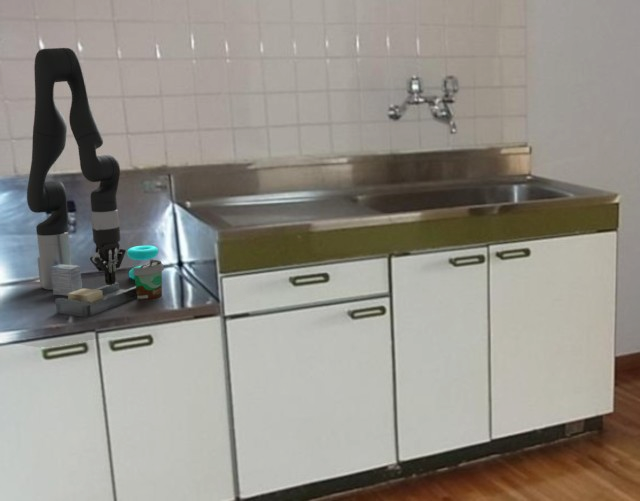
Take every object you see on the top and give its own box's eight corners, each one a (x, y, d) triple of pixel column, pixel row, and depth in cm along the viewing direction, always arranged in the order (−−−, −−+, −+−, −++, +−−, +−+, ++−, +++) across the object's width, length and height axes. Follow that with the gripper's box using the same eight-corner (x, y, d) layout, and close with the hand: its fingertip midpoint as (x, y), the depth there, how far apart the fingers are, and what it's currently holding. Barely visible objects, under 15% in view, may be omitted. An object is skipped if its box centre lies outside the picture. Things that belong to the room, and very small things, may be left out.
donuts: (152, 243, 247) (161, 248, 238) (155, 272, 249) (164, 278, 240) (123, 247, 242) (131, 252, 234) (125, 276, 244) (133, 282, 236)
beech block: (69, 307, 205) (67, 293, 204) (84, 301, 211) (83, 288, 210) (88, 309, 202) (86, 295, 201) (103, 304, 208) (102, 290, 207)
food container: (155, 303, 211) (152, 268, 209) (135, 302, 212) (132, 268, 210) (172, 291, 223) (170, 259, 221) (153, 291, 224) (150, 259, 222)
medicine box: (83, 293, 225) (80, 265, 223) (72, 297, 221) (69, 268, 219) (63, 291, 228) (60, 263, 226) (52, 294, 224) (49, 267, 222)
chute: (56, 313, 204) (55, 299, 203) (115, 291, 225) (114, 279, 224) (87, 317, 199) (85, 302, 198) (144, 294, 220) (143, 281, 219)
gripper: (111, 221, 219) (115, 277, 223) (79, 229, 207) (84, 288, 211) (131, 222, 216) (135, 280, 219) (100, 230, 204) (105, 291, 208)
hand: (110, 284), depth 215 cm, fingers closed
